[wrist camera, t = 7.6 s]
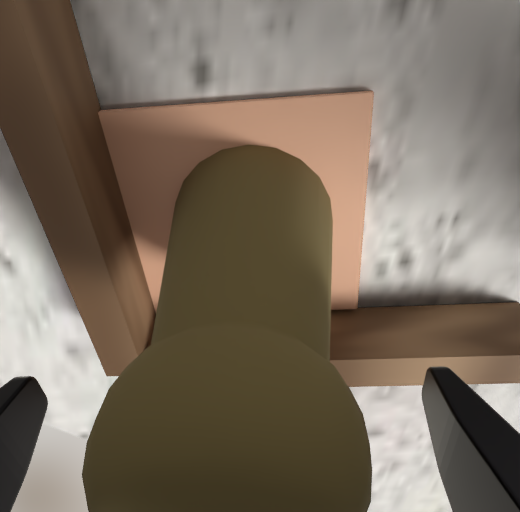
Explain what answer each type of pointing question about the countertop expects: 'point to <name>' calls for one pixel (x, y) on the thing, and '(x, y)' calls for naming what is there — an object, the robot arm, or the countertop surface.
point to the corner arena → (166, 192)
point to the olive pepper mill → (237, 359)
